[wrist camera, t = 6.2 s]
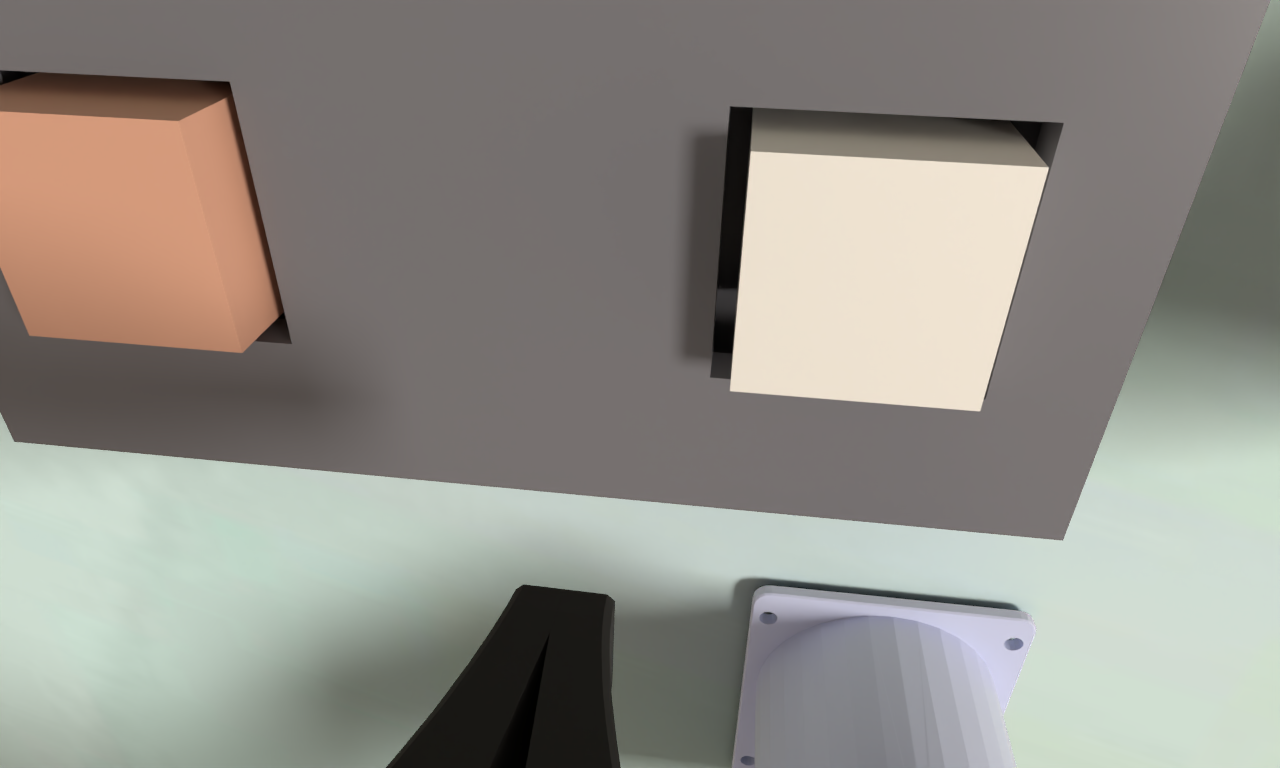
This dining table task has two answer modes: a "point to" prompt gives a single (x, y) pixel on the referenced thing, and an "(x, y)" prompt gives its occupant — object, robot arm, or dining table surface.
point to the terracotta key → (132, 213)
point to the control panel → (630, 240)
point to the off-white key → (880, 255)
